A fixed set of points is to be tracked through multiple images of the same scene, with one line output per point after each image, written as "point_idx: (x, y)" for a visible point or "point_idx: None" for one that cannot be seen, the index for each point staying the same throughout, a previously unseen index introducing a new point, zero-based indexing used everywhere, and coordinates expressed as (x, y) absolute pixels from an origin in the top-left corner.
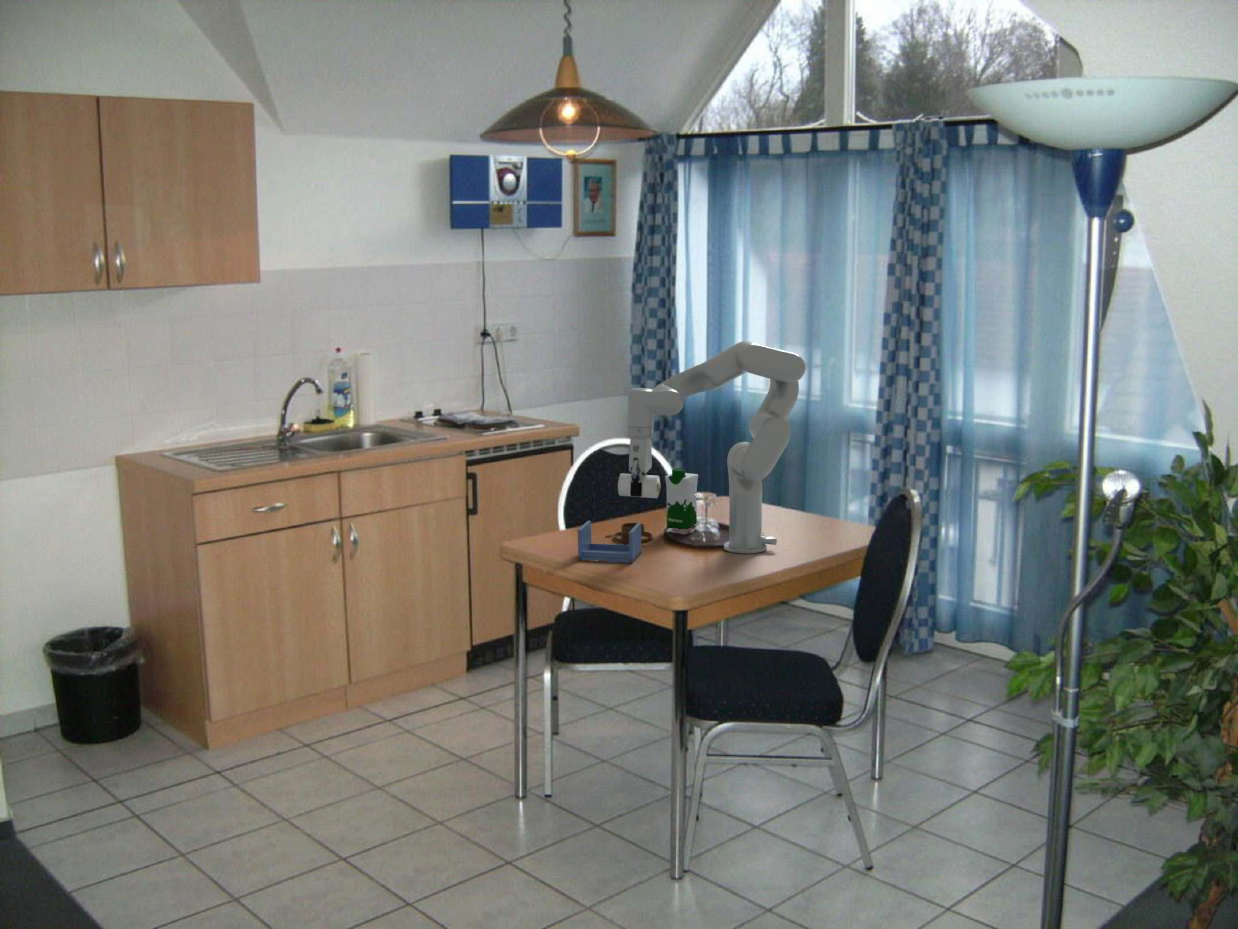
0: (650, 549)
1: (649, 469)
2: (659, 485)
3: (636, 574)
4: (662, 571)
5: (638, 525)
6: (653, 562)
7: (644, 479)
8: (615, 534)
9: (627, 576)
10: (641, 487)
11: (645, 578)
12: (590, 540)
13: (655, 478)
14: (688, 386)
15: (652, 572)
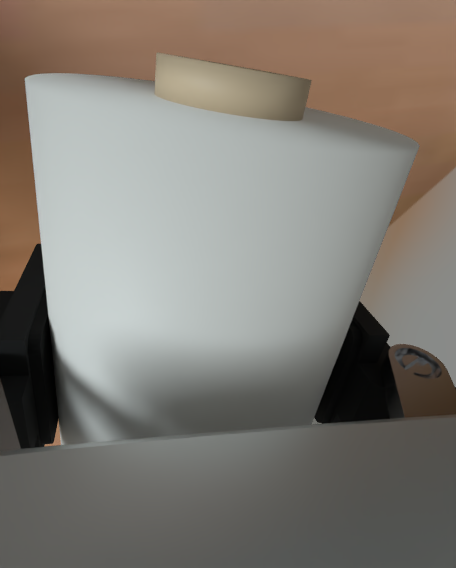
0: (16, 96)
1: (212, 439)
2: (262, 71)
3: (396, 126)
4: (381, 15)
5: None
6: (244, 66)
7: (339, 342)
8: None
9: None
10: (360, 302)
11: (451, 87)
12: None
13: (385, 181)
14: None
15: (385, 62)
